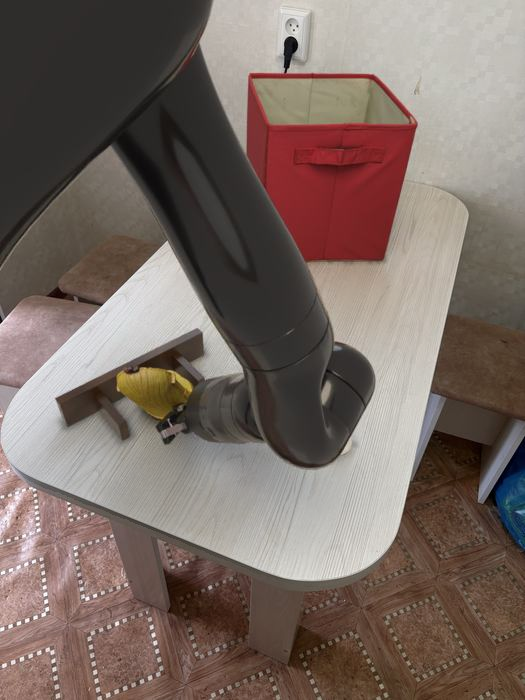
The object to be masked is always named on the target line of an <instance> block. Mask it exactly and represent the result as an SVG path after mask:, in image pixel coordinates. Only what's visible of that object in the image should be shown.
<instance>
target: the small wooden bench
mask: <svg viewBox="0 0 525 700" xmlns="http://www.w3.org/2000/svg"><path fill="white" fill-rule="evenodd" d="M204 355H205V349H204V332H203V331H202V330H201V329H199V327H196V328H194V329H192V330H190V331H188V332H186V333H184V334H181V335H180V336H178V337H176V338H174V339H172V340H170V341H167V342H165V343H163V344H161V345H159V346H158V347H155V348H154V349H151V350H150V351H147V352H145V353H143V354H141V355H139V356H137V357H135V358H133V359H131V360H130V361H127V362H125V363H123V364H121V365H119V366H117V367H115V368H113V369H111V370H109V371H107V372H105V373H102V374H101V375H99V376H97V377H94V378H93V379H90V380H89V381H87V382H85V383H83V384H81V385H78V386H77V387H74V388H73V389H70V390H69V391H67V392H64V393H62V394H61V395H59V396H56V397H55V398H54V399H55V402H56V405H57V407H58V410H59V413H60V416H61V418H62V421H63V422H64V424H65V426H66V427H67V428H69V427H70V426H72V425H75V424H76V423H78V422H81V421H82V420H84V419H86V418H88V417H89V416H91V415H93V414H95V413H97V412H98V413H100V414H101V416H102V417H103V418H104V420H105V421H106V422H107V423H108V425H109V426H110V427H111V428H112V430H113V431H114V432H115V433H116V435H117V436H118V437H119V439H120V440H121V441H125V440H126V439H128V438H130V437H131V436H130V431H129V428H128V423H127V422H128V421H127V420H126V419H125V418H124V417H123V416H122V414H121V413H120V412H119V410H118V409H117V408H116V406H114V403H115V402H118V401H119V400H121V399H123V398H126V396H125V395H123V393H122V392H119V391H117V375H118V374H119V373H120V372H121V371H122V370H123V371H124V368H125V367H128V366H132V367H136V366H139V368H141V367H145V368H151V367H152V368H160V369H163V370H171V371H174V372H176V373H178V374H180V375H181V376H182V377H183V378H184V379H187V380H188V381H189V382H190V383H191V384H193V386H194V388H195V387H196V386H197V385H198V384H199V383H200V382H202V381H204V380H206V377H205V376H204V375H203V374H202V373H200V372H199V370H198V369H196V367H195V366H194V365H192V364H191V363H192V362H193V361H195V360H197V359H199V358H200V357H203V356H204Z"/></svg>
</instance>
